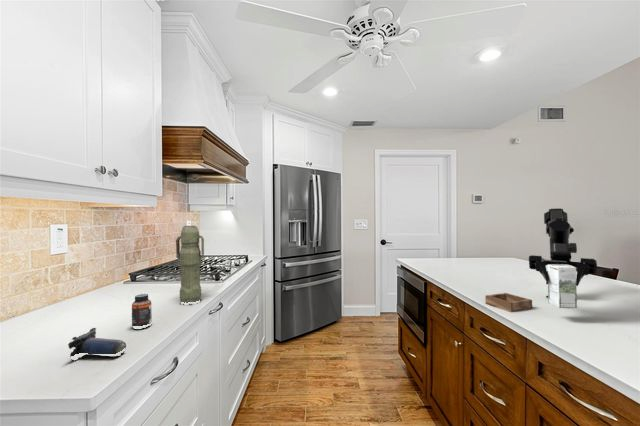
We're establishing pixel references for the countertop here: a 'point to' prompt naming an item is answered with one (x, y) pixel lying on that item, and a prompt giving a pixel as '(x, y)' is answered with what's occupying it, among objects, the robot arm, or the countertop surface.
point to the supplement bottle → (141, 310)
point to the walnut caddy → (508, 302)
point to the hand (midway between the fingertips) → (562, 283)
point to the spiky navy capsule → (95, 344)
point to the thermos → (190, 263)
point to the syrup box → (562, 286)
